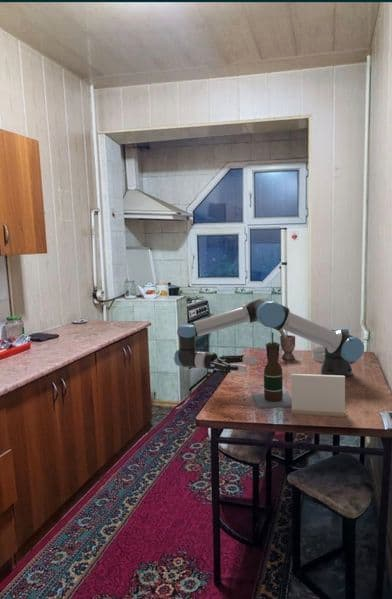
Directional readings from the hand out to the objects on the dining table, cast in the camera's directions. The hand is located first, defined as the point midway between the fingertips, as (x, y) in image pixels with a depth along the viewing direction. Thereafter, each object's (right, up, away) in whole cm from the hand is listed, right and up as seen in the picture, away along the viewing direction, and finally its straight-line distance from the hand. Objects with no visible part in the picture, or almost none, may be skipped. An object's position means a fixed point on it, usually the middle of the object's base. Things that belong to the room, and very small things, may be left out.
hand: (251, 364), depth 196 cm
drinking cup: (+17, -9, +46) cm, 50 cm away
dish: (+54, -6, +66) cm, 86 cm away
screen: (+24, -16, -18) cm, 34 cm away
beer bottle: (+9, -14, -3) cm, 17 cm away
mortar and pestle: (+28, -6, +70) cm, 75 cm away
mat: (+9, -15, -3) cm, 18 cm away
